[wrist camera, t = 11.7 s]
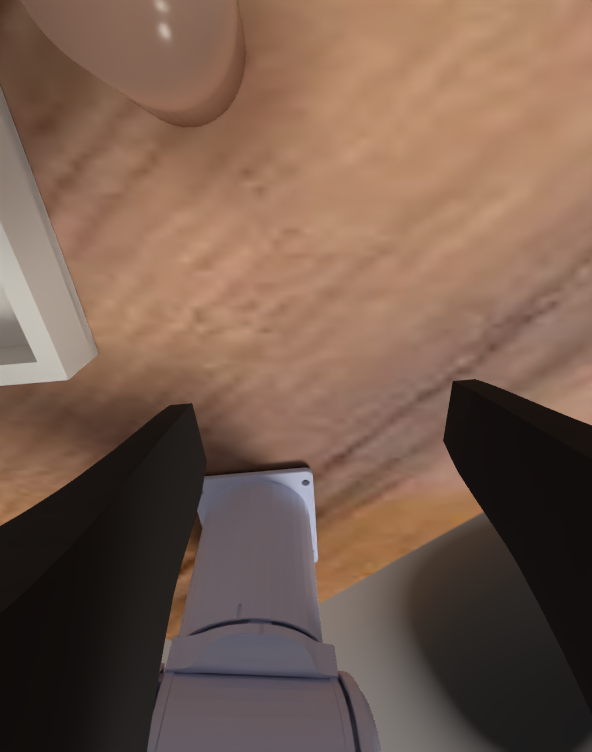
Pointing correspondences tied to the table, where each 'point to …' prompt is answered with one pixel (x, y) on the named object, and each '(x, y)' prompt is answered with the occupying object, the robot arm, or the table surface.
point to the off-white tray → (34, 279)
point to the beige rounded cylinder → (154, 51)
